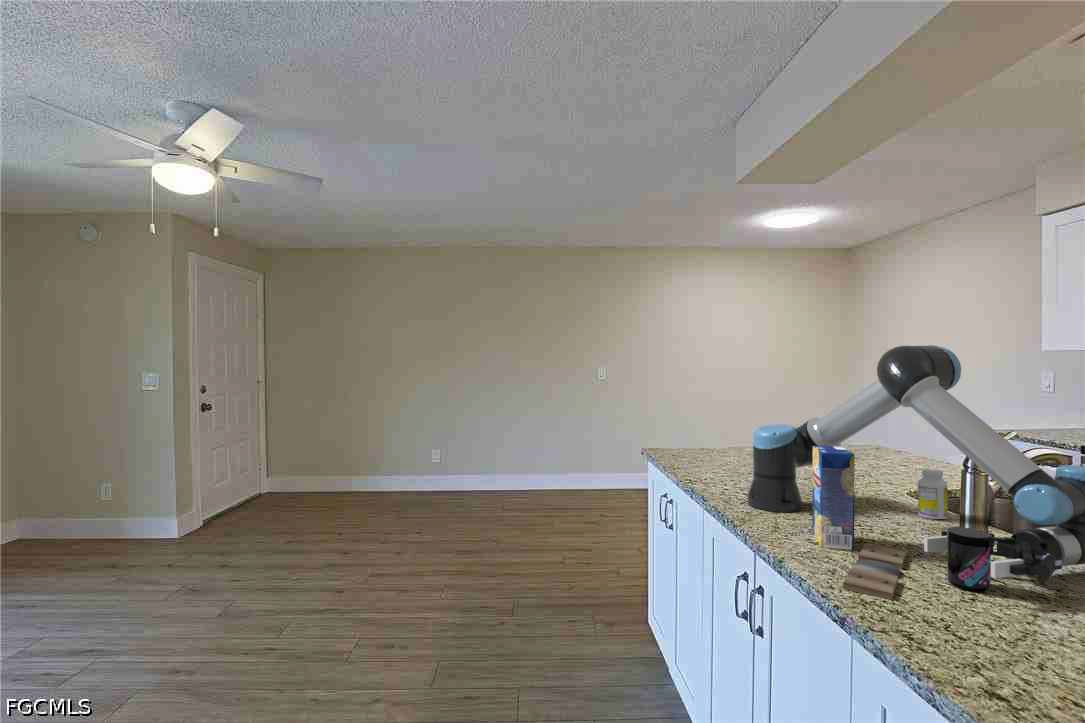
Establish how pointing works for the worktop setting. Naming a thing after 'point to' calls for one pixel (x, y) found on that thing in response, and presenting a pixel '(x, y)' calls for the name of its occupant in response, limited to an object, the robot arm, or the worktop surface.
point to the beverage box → (833, 497)
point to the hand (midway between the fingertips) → (957, 556)
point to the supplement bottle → (932, 495)
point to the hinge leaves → (876, 571)
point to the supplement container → (968, 559)
